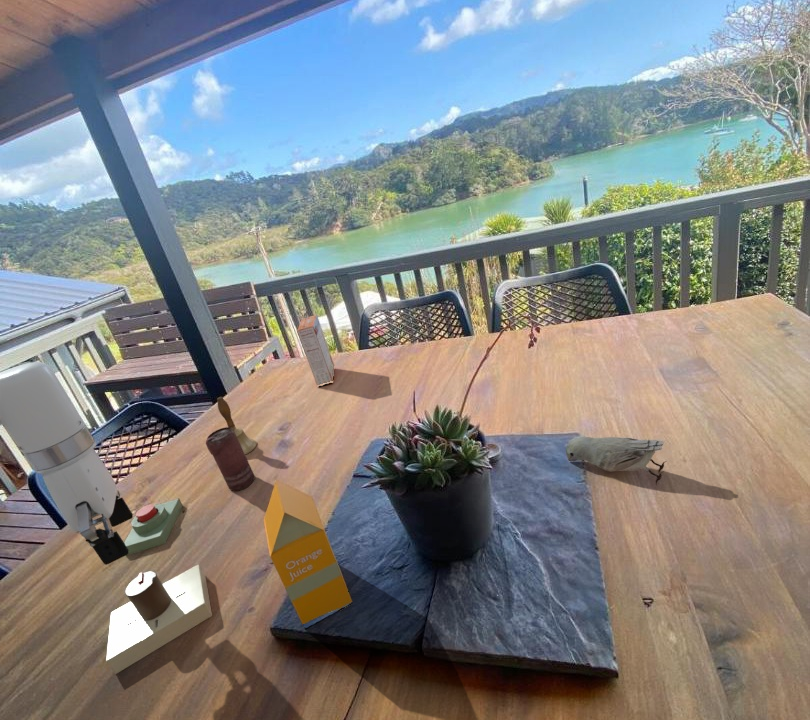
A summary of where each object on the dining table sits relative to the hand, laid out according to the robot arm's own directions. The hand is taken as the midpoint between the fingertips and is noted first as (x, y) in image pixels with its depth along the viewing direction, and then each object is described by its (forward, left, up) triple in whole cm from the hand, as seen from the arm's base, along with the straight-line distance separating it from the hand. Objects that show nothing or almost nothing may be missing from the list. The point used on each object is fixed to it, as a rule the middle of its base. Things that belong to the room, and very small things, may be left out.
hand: (120, 538), depth 67 cm
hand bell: (+21, +43, -16) cm, 50 cm away
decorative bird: (+75, -30, -16) cm, 82 cm away
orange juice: (+23, -17, -16) cm, 33 cm away
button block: (-1, +25, -16) cm, 29 cm away
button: (-1, +25, -12) cm, 28 cm away
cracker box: (+55, +66, -16) cm, 87 cm away
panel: (0, -3, -16) cm, 16 cm away
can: (+18, +26, -16) cm, 35 cm away
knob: (0, -3, -12) cm, 13 cm away
